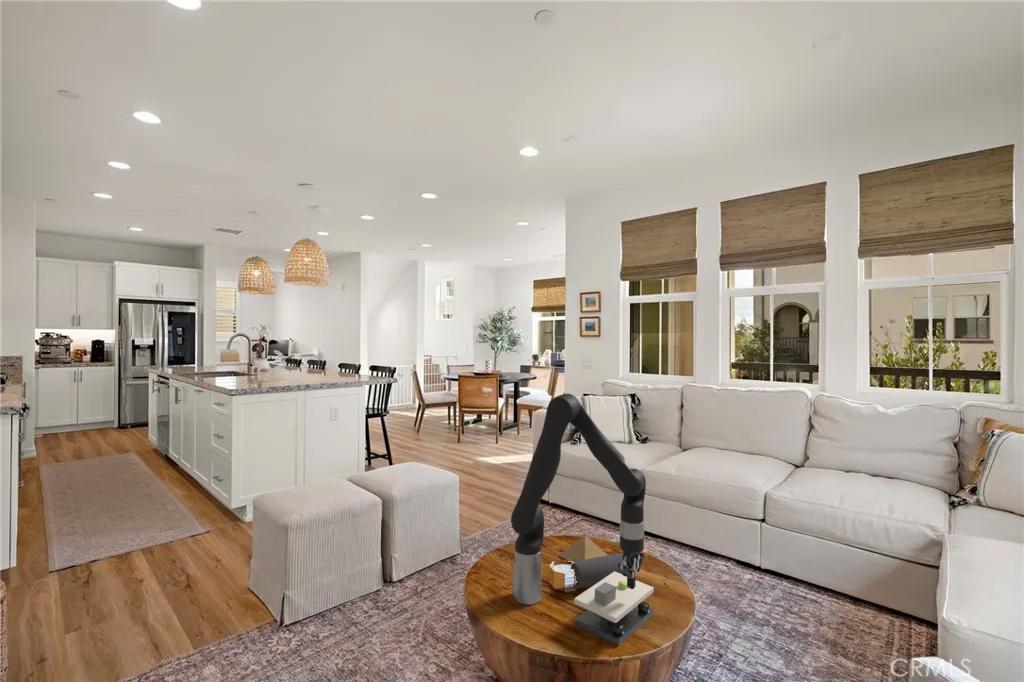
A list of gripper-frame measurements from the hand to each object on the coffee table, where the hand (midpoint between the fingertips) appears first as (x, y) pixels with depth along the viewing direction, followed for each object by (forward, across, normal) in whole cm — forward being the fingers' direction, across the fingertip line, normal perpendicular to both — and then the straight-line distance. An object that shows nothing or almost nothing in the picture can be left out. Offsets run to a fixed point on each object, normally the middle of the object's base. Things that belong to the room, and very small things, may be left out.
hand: (631, 587), depth 159 cm
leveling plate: (+6, 0, -6) cm, 8 cm away
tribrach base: (+13, 0, -6) cm, 14 cm away
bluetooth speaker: (+13, -17, -21) cm, 30 cm away
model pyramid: (+14, -30, -38) cm, 51 cm away
